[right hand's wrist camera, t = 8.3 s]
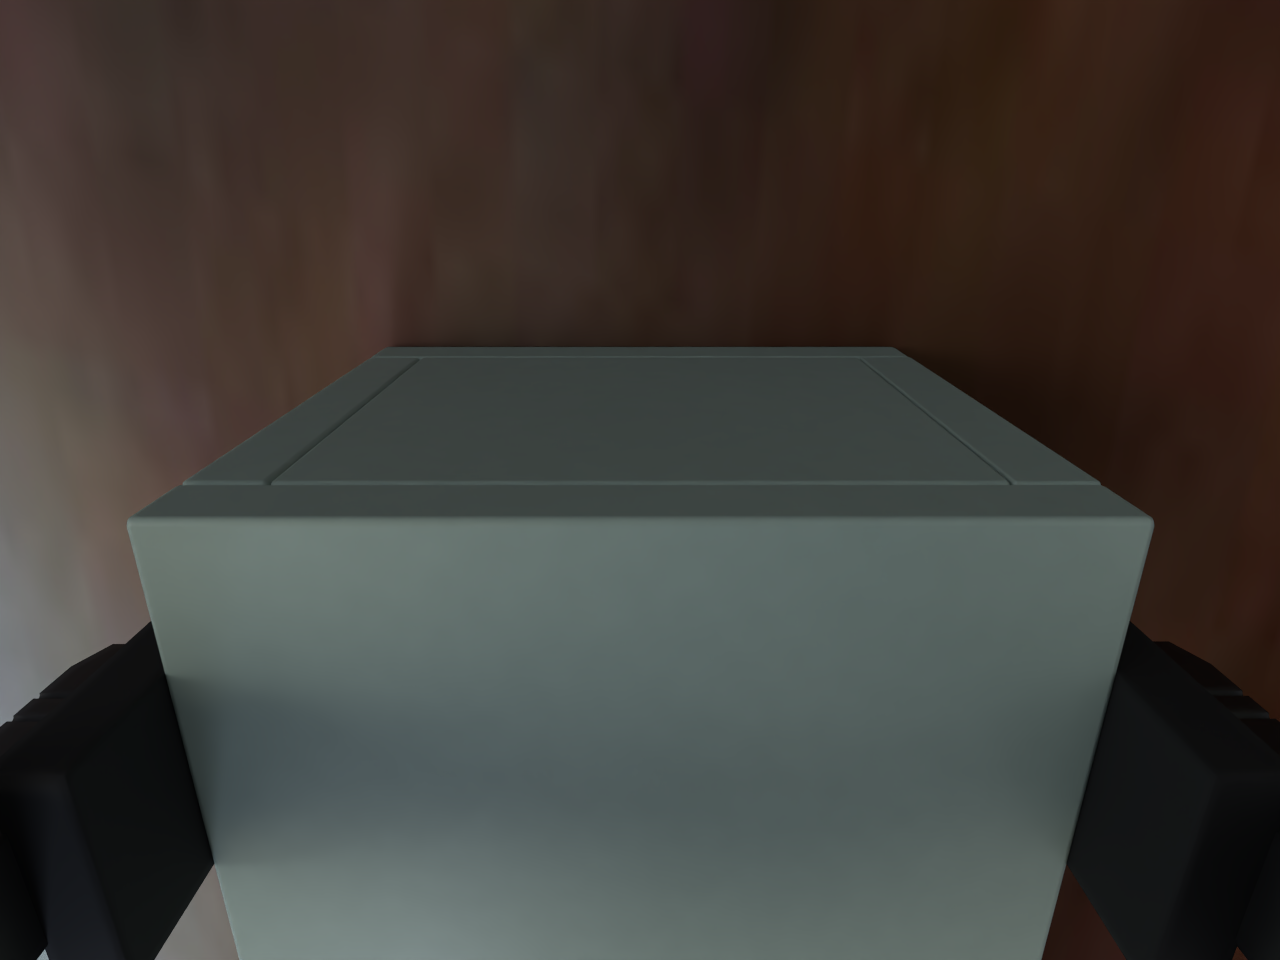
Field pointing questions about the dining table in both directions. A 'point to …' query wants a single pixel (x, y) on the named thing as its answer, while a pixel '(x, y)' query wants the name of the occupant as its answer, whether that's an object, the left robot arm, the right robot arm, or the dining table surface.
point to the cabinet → (640, 659)
